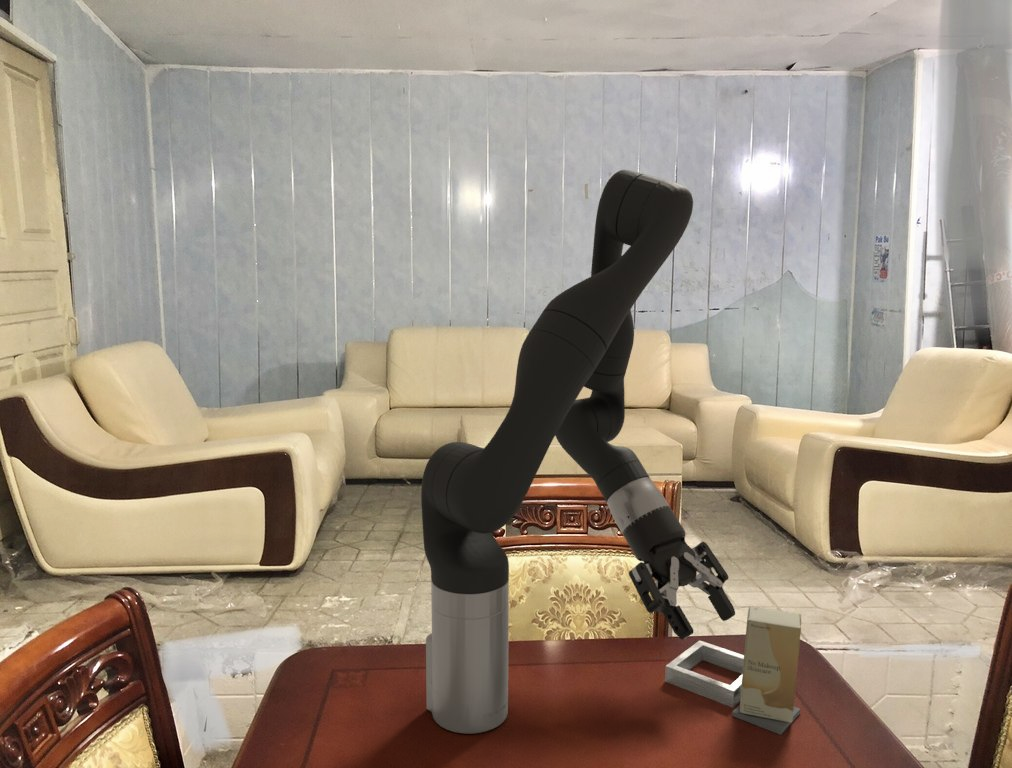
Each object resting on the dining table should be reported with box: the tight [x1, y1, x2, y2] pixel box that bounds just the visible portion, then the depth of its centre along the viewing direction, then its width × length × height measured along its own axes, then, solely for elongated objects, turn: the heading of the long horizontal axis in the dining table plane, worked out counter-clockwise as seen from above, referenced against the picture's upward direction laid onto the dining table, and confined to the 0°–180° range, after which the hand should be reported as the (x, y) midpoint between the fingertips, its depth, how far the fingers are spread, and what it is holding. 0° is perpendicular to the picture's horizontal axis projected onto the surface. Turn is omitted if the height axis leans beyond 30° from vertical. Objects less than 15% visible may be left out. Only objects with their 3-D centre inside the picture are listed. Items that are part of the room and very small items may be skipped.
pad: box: [732, 704, 801, 736], centre depth 98 cm, size 6×6×1 cm
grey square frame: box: [664, 640, 744, 709], centre depth 106 cm, size 10×10×2 cm
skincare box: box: [739, 605, 802, 724], centre depth 97 cm, size 6×4×12 cm
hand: (709, 626), depth 104 cm, fingers open, 8 cm apart
